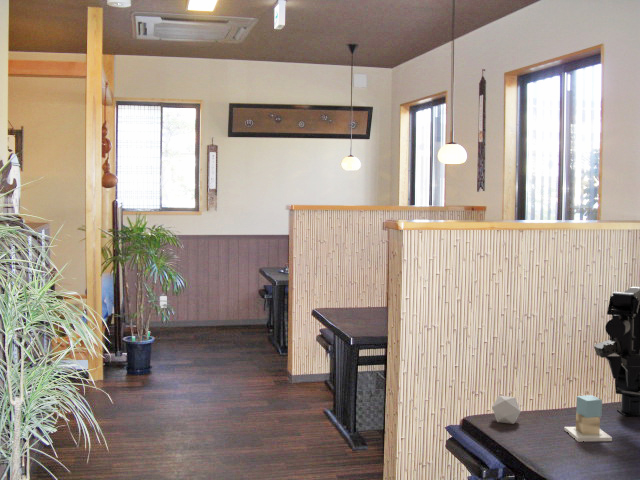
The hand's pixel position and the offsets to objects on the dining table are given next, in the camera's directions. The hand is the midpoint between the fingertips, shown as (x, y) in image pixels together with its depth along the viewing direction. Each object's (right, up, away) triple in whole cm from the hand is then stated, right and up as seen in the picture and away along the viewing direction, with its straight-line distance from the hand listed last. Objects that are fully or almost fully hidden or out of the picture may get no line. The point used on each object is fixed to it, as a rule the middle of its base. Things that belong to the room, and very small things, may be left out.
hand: (622, 382), depth 217 cm
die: (-35, -13, +3) cm, 38 cm away
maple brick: (-15, -13, -10) cm, 22 cm away
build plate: (-14, -14, -10) cm, 22 cm away
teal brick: (-14, -8, -10) cm, 19 cm away
